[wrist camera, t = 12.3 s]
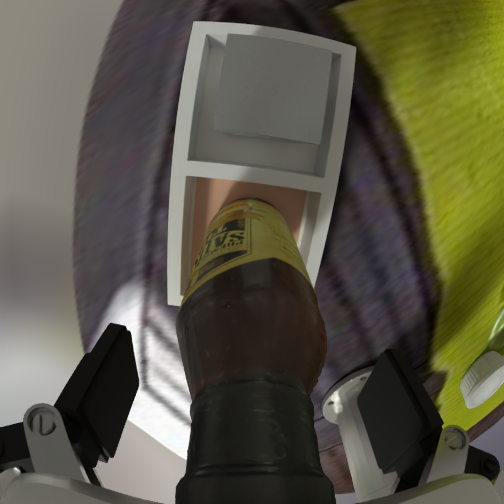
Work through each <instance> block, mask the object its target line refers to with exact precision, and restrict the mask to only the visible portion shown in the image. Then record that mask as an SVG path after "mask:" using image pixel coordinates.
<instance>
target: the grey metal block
mask: <svg viewBox="0 0 504 504" xmlns="http://www.w3.org/2000/svg"><path fill="white" fill-rule="evenodd" d="M331 60H332V50H328V49H324V48H320V47H316V46H311V45H307V44H302V43H297V42H292V41H287V40H281V39H275V38H268V37H261V36H253V35H243V34H231V33H228V35H227V40H226V46H225V51H224V57H223V63H222V69H221V75H220V81H219V88H218V94H217V101H216V108H215V115H214V123H213V130H216V131H218V132H221V133H223V134H228V135H238V136H246V137H254V138H262V139H269V140H275V141H282V142H288V143H298V144H317V145H320V142H321V136H322V129H323V123H324V116H325V109H326V101H327V94H328V86H329V78H330V69H331Z"/></svg>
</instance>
